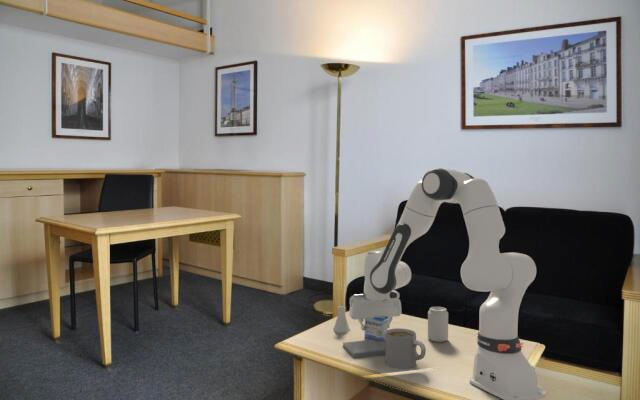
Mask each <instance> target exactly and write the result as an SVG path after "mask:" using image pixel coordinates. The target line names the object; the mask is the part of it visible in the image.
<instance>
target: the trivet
mask: <svg viewBox="0 0 640 400" xmlns="http://www.w3.org/2000/svg"><path fill="white" fill-rule="evenodd" d="M342 347H343V348H344V349H345V350H346V352H347V353H348V354H350V355H351V356H352V357H353V358H355V359H357V358H365V357H366V358H367V357H374V356H385V346H383V345H382V344H380V343H379V342H378V341H377V340H376V339H369V340H359V341H358V340H357V341H346V342H345V341H344V342H343V343H342Z"/></svg>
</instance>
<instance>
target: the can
mask: <svg viewBox="0 0 640 400" xmlns="http://www.w3.org/2000/svg"><path fill="white" fill-rule="evenodd" d="M447 310H448V309H447V308H445V307H442V306H431V307H430V308H429V310H428V312H427V338H428V339H429V340H430V341H431V342H434V343H444V342H446V341H447V340H449V312H448V311H447Z"/></svg>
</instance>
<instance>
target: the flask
mask: <svg viewBox="0 0 640 400" xmlns="http://www.w3.org/2000/svg"><path fill="white" fill-rule="evenodd" d="M346 308H347V307H346V306H341V305H340V306H337V310H338V311H337V312H338V313H337V318H336V319H335V323H334V327H333V328H332V330H333V332H334V333H338V334H348V333H350V332H351V328H350V327H349V326H350V325H349V324H348V321H347V317H346Z"/></svg>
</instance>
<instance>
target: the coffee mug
mask: <svg viewBox="0 0 640 400" xmlns="http://www.w3.org/2000/svg"><path fill="white" fill-rule="evenodd" d="M384 342H385V346H384V348H385V355H384V358H385V360H384V361H385V364H386V365H387V366H389V367H390V368H391V367H392V368H396V369H410V368H413V367H415V366H416V364H417V361H419V360H422V359H424V357H425V356H426V352H427V351H426V346H425V344H424V342H422V341H420V340H417V333H416V331H414V330H412V329H408V328H401V327H399V328H391V329H390V328H388V329H387V331H386V333H385V340H384ZM417 346H419V348H420V354H418V351H417Z"/></svg>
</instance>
